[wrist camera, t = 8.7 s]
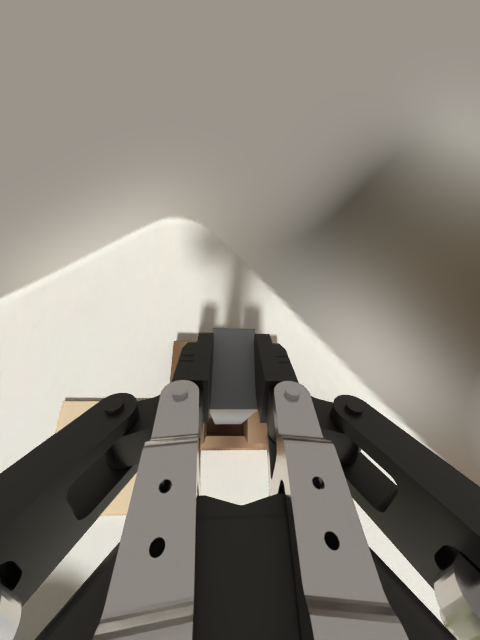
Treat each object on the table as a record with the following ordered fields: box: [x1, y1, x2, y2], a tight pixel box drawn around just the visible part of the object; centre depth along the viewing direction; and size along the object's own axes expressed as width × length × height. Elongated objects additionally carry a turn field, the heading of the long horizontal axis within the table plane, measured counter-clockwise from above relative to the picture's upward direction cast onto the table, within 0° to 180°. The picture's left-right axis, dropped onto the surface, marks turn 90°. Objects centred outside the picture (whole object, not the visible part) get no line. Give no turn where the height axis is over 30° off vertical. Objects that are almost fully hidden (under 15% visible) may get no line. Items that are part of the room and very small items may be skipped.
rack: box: [170, 341, 279, 450], centre depth 23 cm, size 12×11×6 cm
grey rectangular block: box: [210, 328, 258, 424], centre depth 16 cm, size 2×4×10 cm, turn 0°
